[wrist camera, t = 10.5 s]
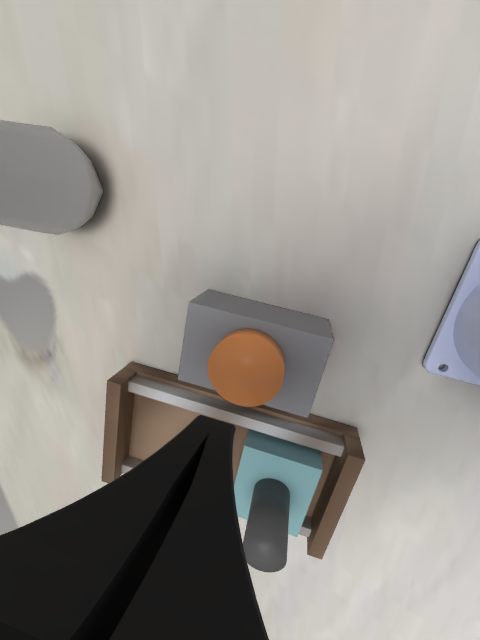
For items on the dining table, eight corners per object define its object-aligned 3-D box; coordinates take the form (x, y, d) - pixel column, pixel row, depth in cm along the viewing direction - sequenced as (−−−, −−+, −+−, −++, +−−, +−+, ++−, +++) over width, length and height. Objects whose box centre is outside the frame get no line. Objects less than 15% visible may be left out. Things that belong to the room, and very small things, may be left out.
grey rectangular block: (329, 319, 19) (334, 339, 15) (307, 387, 20) (307, 418, 17) (208, 289, 20) (189, 301, 16) (197, 356, 21) (177, 379, 18)
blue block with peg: (321, 447, 20) (327, 533, 15) (298, 510, 22) (295, 607, 17) (249, 425, 21) (229, 499, 15) (233, 489, 23) (210, 574, 17)
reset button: (295, 322, 18) (292, 348, 14) (279, 378, 20) (273, 415, 16) (233, 306, 19) (214, 327, 15) (222, 361, 20) (202, 394, 16)
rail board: (356, 428, 20) (365, 460, 18) (319, 519, 23) (321, 559, 21) (131, 361, 23) (107, 380, 20) (123, 453, 26) (101, 480, 23)
